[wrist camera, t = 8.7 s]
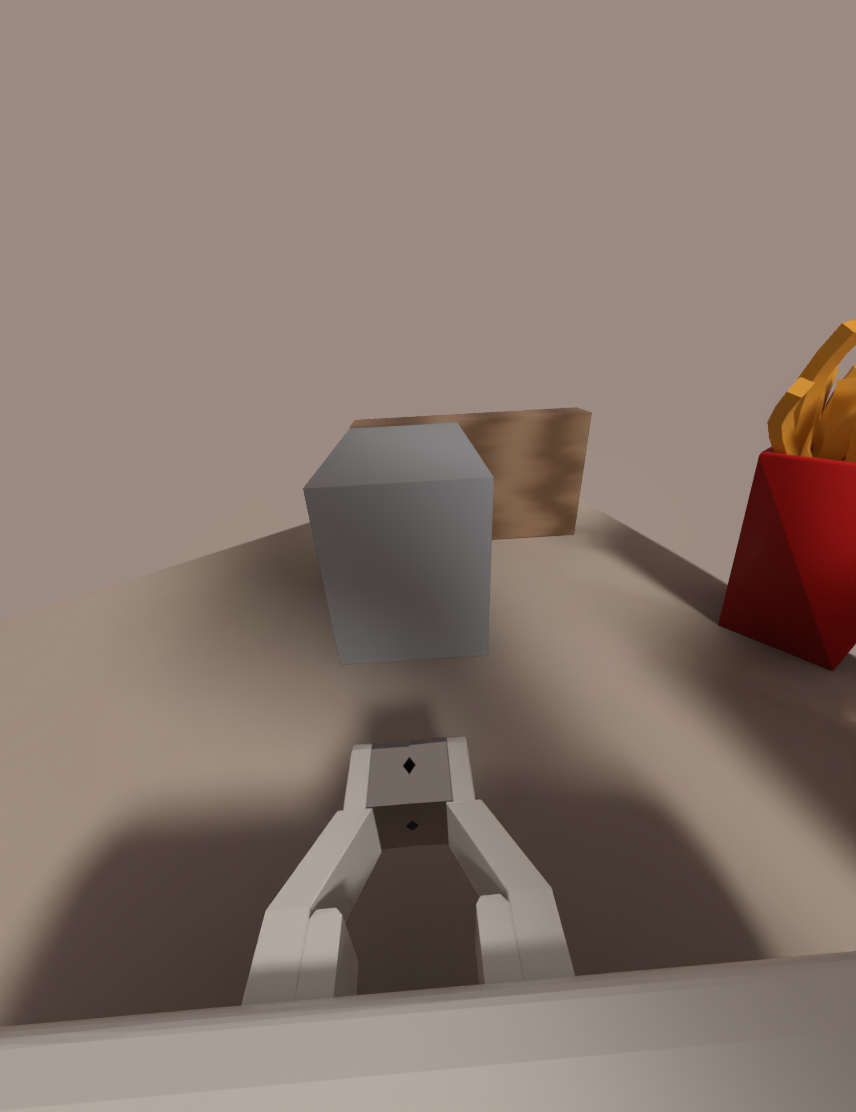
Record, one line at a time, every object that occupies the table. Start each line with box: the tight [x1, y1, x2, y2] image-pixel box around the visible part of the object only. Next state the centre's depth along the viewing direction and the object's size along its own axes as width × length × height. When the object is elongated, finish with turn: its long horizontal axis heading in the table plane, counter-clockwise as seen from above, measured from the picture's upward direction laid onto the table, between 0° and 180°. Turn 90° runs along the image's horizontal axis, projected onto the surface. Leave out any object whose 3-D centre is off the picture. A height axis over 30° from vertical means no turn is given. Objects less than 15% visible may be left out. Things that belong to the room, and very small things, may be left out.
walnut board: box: [350, 408, 592, 539], centre depth 32 cm, size 18×3×10 cm, turn 92°
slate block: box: [303, 422, 494, 665], centre depth 25 cm, size 8×14×10 cm, turn 2°
